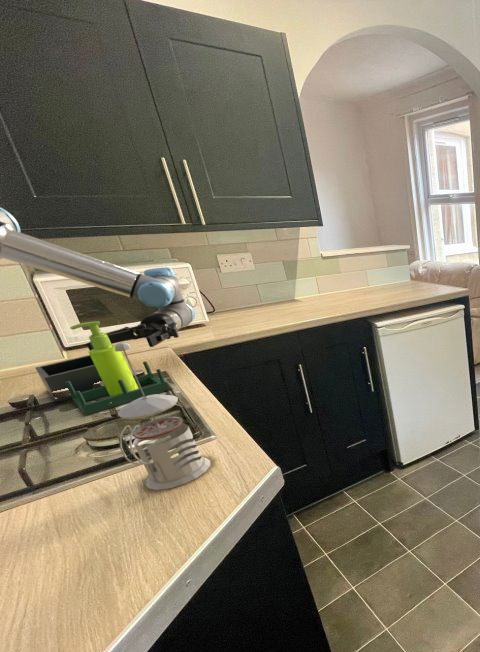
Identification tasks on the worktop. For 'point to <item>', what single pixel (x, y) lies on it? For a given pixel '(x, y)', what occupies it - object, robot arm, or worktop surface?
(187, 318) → the robot arm
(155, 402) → the french press
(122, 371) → the soap dispenser
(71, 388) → the dish rack
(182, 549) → the worktop surface
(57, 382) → the basin
